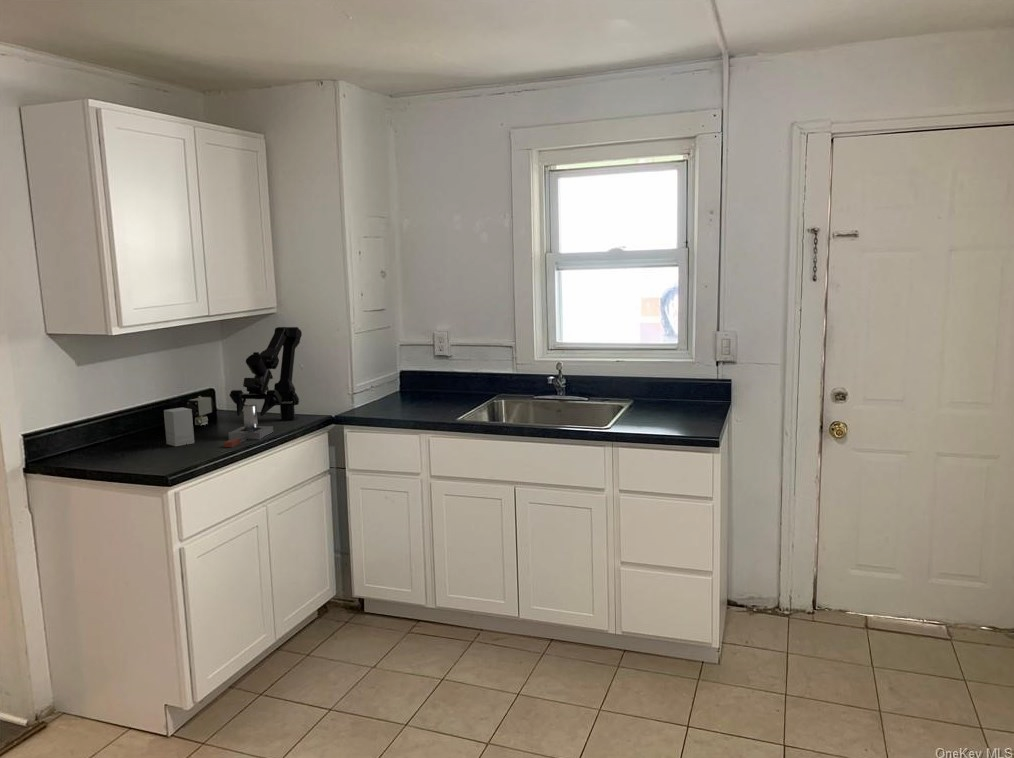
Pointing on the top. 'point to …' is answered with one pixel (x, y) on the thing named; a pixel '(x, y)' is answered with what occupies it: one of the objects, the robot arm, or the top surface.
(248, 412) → the shiny metal cylinder
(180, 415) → the supplement box
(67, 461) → the top surface
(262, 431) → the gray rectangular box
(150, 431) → the top surface
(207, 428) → the top surface
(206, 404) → the pneumatic valve
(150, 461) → the top surface
